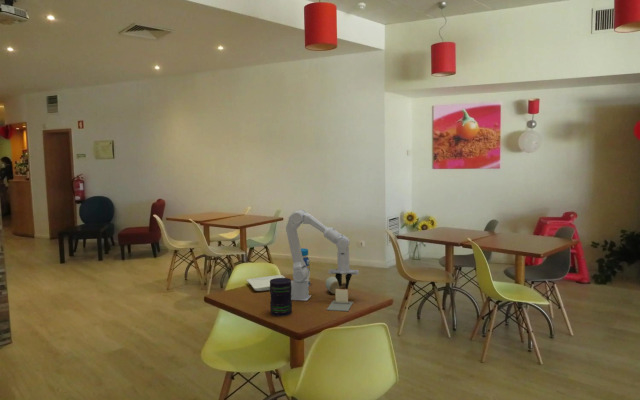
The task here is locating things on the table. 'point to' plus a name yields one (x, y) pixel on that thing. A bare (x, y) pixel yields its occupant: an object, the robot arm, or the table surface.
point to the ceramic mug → (332, 284)
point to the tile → (341, 295)
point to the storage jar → (280, 296)
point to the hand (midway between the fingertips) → (343, 288)
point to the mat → (340, 306)
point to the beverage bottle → (306, 261)
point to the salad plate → (262, 282)
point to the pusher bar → (343, 286)
